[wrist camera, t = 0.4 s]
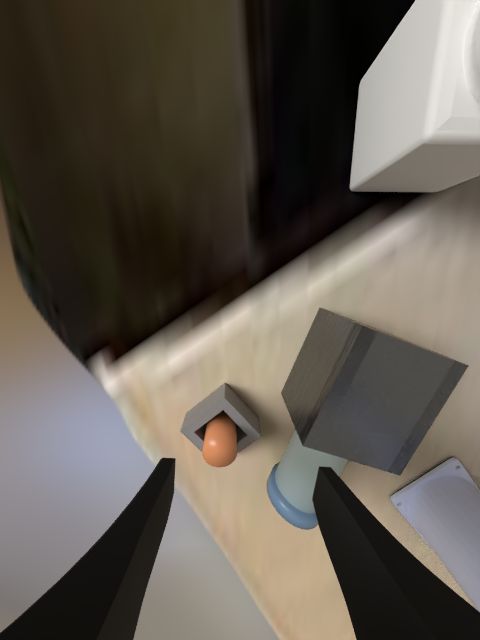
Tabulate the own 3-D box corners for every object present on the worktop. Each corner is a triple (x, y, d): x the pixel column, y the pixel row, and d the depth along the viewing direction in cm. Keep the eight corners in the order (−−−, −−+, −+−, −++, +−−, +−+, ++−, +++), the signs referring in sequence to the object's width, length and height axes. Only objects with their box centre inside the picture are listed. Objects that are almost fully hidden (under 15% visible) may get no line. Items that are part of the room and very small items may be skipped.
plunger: (242, 426, 20) (243, 454, 17) (219, 443, 20) (217, 472, 17) (223, 407, 19) (221, 431, 16) (200, 424, 19) (195, 451, 17)
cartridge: (328, 325, 19) (362, 343, 14) (379, 343, 19) (428, 368, 15) (263, 465, 22) (272, 521, 17) (308, 478, 22) (330, 536, 18)
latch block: (257, 417, 21) (260, 435, 19) (219, 446, 22) (218, 467, 19) (225, 382, 20) (224, 397, 18) (186, 413, 21) (180, 431, 18)
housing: (319, 307, 19) (362, 325, 13) (393, 335, 20) (468, 365, 14) (281, 392, 21) (302, 446, 14) (350, 415, 21) (399, 475, 15)
